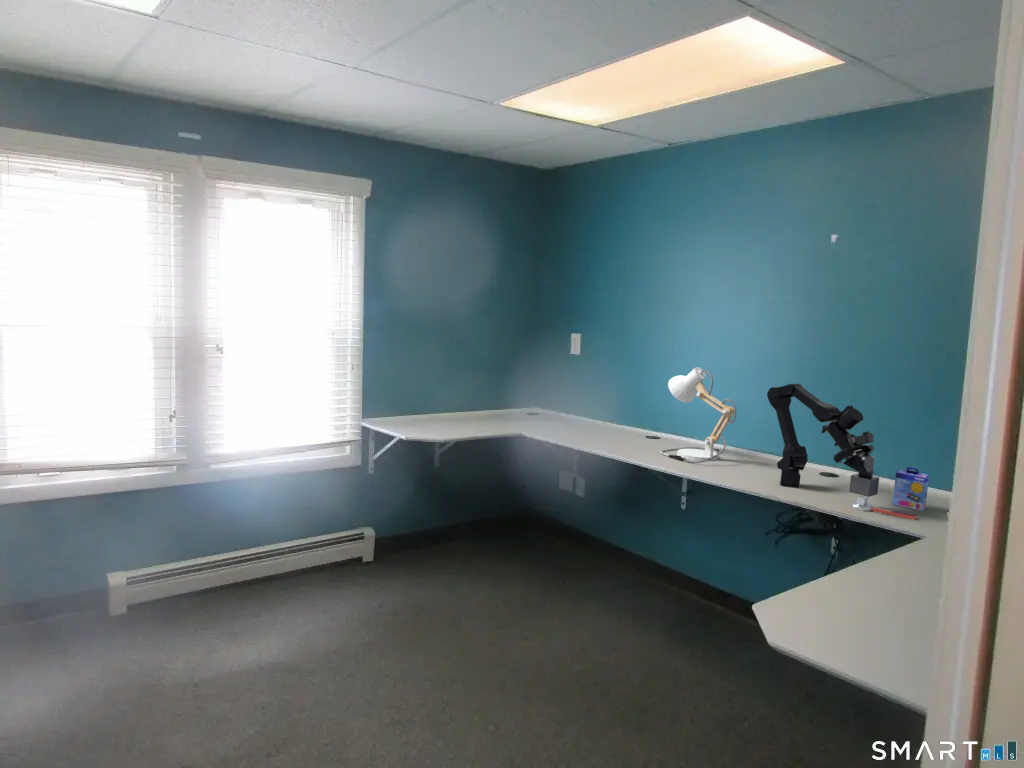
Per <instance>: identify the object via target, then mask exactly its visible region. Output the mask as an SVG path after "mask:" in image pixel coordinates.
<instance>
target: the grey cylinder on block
mask: <svg viewBox="0 0 1024 768" xmlns="http://www.w3.org/2000/svg"><path fill="white" fill-rule="evenodd" d="M860 461H861V463H862V465H863V466H864V468H865V470H866V472H867V475H866V476H864V475H863V474H861V473H859V472H858V471H857V472H858V473H855V474H851V475H850V481H849V482H850V483H849V490H848V493H852V494H856V495H859V496H862V497H866V498H869V497H872V496H876V495H878V491H879V484H880V477H878V476H874V473H873V471H874V469H875V467H874V466H875V456H873V455H870V456H868V455H861V456H860Z"/></svg>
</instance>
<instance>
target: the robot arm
mask: <svg viewBox="0 0 1024 768" xmlns="http://www.w3.org/2000/svg"><path fill="white" fill-rule="evenodd" d="M766 393H767V394H766V396H767V399H768V402H769V404H770V406H771V407H772V408H773V409H774V410H775V412H776V416H777V420H778V424H779V428H780V432H781V437H782V440H783V444H784V446H783V450H782V458H781V459H780V460H779V461H778V462H777V463H776V466H777V469H778V470H780V478H779V481H778V482H779V485H780V486H782V487H789V488H790V487H791V488H799V486H800V485H801V474H800V471H804V469H805V466H806V465H807V463H808V461H809V460H808V459H809V458H808V457H809V455H808V453H807V448H806V446H802V445H800V443H799V440H798V437H797V433H796V429H795V426H794V423H793V419H792V414H791V410H790V406H791V402H792V398H796V400H797V401H799V402H801V404H802V405H805V407H807V408H808V409H809V410H811V413H812V415H813V417H814V418H815V419H816V420H817V421H818V422H820V423H828V424H824V425H822V428H821V433H822V434H825V433H828V434H829V436H830V437H831V438H832V440H833V442H834V443H833V444H834V445H833V446H835V447H838V448H839V450H840V451H838V452H837V453H835V454H834V455H833V460H834V462H835V463H836V464H837V465H838V464H841V463H842V464H843V465H846V466H847V467H849V468H851V469H852V470H854V471H856V472H859V473H861V474H863V475H864V476H866V475H867V472H866V470H865V468H864V466H863V465H862V463H861V461H860V456H861V455H868V456H871V453H872V452H873V451H875V450H876V449H875V447H874V446H873V445H872V444H871V443H874V442H875V440H874V439H875V435H874V434H873V433H871V432H870V431H868V430H867V431H864V432H862V434H861V435H857V436H856V435H855V433H852V434H851V433H850V432H849V431H850V430H852V429H853V428H855V427H857V425H858V424H860V423H861V422H862V421H864V416H863V413H862V412H860V410H858V409H857V408H855V407H854V406H853V405H847V406H846V407H845V408H843V410H842V411H841V410H840V409H839V407H837V406H835V405H834V404H830V403H827V402H824V401H822V400H821V399H820V398H818V397H817V396H815V395H814V394H812V393H811V392H810V391H809V390H807V389H806V388H804V387H803V385H802V384H800V383H789V384H786V385H782V386H778V387H777V386H776V387H775V386H772V387H770V388H769V389H768V391H767V392H766ZM843 460H844V462H842V461H843ZM874 473H875V470H873V474H874Z"/></svg>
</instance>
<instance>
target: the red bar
mask: <svg viewBox="0 0 1024 768" xmlns="http://www.w3.org/2000/svg"><path fill="white" fill-rule="evenodd" d="M856 498H857V499H856V501H851V502H850V506H851V507H853V508H856V509H861V510H867V511H866V512H873V511H876V512H875V513H878V512H881V513H880V514H883V513H885V514H884V515H888V514H890V515H889V516H893V515H894V516H893V517H897V516H899V518H902V517H903V519H909V520H912V519H913V521H916V520H917V515H916V514H912V513H907V512H901V511H896V510H891V509H886V508H881V507H878V506H877V507H876V506H874V505H873V504H871V503H869V497H867V496H863V495H859V496H856ZM851 507H850V508H851ZM853 508H852V509H853ZM856 509H855V510H856ZM870 510H872V511H870Z"/></svg>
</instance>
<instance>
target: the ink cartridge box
mask: <svg viewBox="0 0 1024 768" xmlns="http://www.w3.org/2000/svg"><path fill="white" fill-rule="evenodd" d="M895 472H896V473H895V477H894V486H893V494H892V495H893V497H892V500H891V501H892V502H891V505H892V504H893V505H894V506H897V505H898V507H903V508H907V509H913V510H916V511H924V510H925V508H926V504H927V497H928V489H929V481H930V475H929V474H926V473H920V472H919V468H917V467H912V466H907V467H906V470H903V469H898V470H896V471H895Z"/></svg>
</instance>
